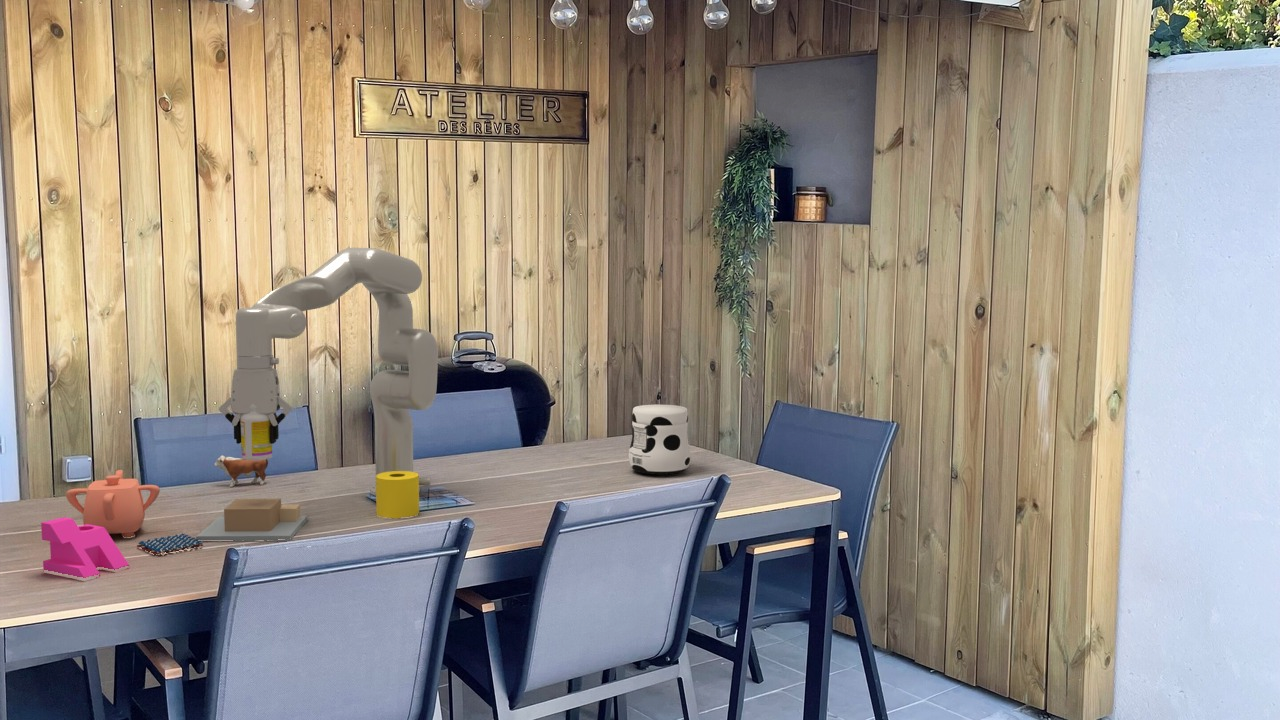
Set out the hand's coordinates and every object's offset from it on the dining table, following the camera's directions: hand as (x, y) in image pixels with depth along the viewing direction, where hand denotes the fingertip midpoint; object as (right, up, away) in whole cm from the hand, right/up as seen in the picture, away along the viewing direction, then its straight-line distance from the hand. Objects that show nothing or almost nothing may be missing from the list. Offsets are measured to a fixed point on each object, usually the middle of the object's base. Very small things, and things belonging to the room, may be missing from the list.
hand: (256, 441), depth 271 cm
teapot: (-31, -20, -1) cm, 37 cm away
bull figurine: (-19, -15, +48) cm, 53 cm away
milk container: (+91, -13, +68) cm, 115 cm away
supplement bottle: (0, -4, 0) cm, 4 cm away
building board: (-1, -20, +1) cm, 20 cm away
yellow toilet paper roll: (+28, -19, +18) cm, 38 cm away
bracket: (-24, -24, -30) cm, 45 cm away
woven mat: (-14, -22, -13) cm, 30 cm away
